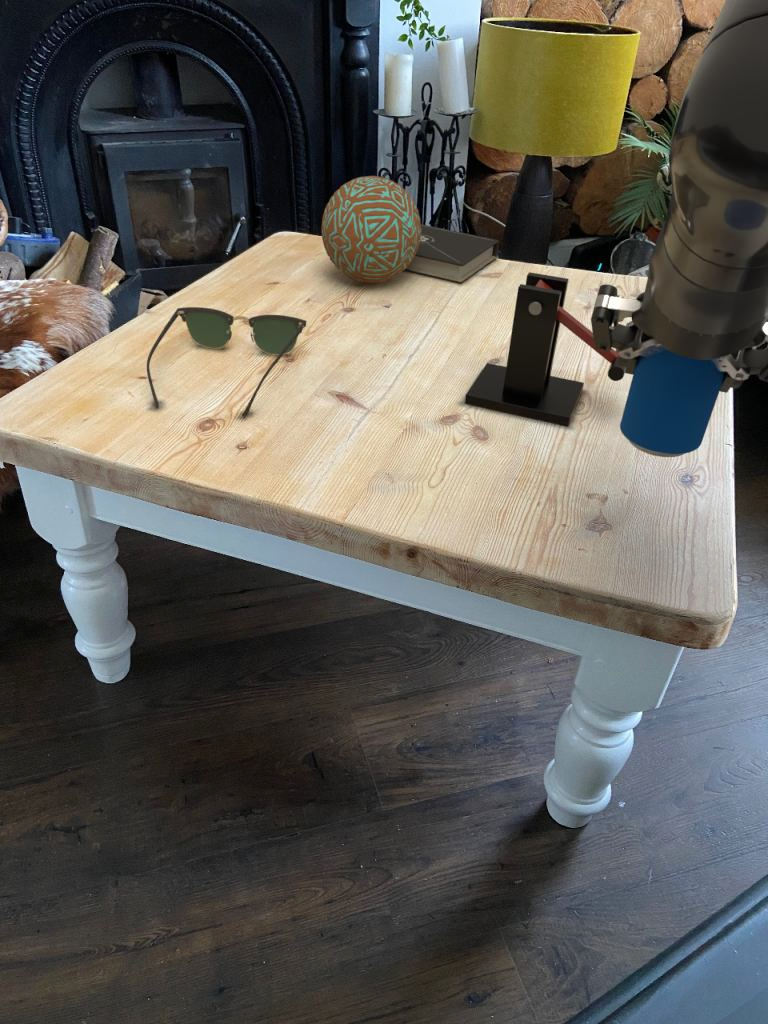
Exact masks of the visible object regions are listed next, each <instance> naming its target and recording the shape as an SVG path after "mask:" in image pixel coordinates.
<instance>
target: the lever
mask: <svg viewBox="0 0 768 1024" xmlns="http://www.w3.org/2000/svg"><path fill="white" fill-rule="evenodd" d="M535 287H541V288H547V289H552V288H550V287H549V286H548V285H547V284H546V283H544V282H543V281H542V280H541V279H540V280H539V281H538V283H537V284H536V285H535ZM552 290H553V289H552ZM557 320H558V321H559V322H560V324H561V325H563V327H565V328H566V329H568V330H569V331H570V332H571V333H572V334H574V335H575V336H576V337H578V338H579V339H580V340H581V341H582V342H584V343H585V344H586V345H587V346H588V347H590V348H591V349H593V350H594V351H595V352H596V353H597V354H598V355H600V356H601V357H602V358H603V359H604V360H606V361H607V362H608V363H610V366H609V368H608V371H607V378H609V380H611V381H614V382H619V381H621V380H622V379H623V378H624V377H625V374H626V373H625V370H626V367H620V366H619V365H618V360H619V355H618V353H619V351H618V350H617V349H615V348H612V347H611V350H610V351H600V350H598V349H596V348H595V345H594V338H593V331H591V330H590V329H589V328H588V327H587V326H585V325H584V324H583V323H582V322H580V321H579V320H578V319H576V318H575V317H574V316H573V315H572V314H570V313H569V312H568V311H567V310H566V309H564V307H563V308H562V307H560V306H559V309H558V314H557Z"/></svg>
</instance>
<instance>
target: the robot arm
mask: <svg viewBox="0 0 768 1024" xmlns="http://www.w3.org/2000/svg"><path fill="white" fill-rule="evenodd" d="M669 145H670V146H669V152H668V169H669V170H668V171H669V175H670V183H671V189H672V192H671V196H670V200H669V203H668V208H667V212H666V216H665V220H664V222H663V224H662V226H661V229H660V231H659V233H658V235H657V237H656V238H657V239H656V241H655V245H654V249H653V253H652V256H651V257H652V258H651V259H650V261H649V263H648V268H647V269H648V272H647V273H648V274H647V275H648V276H647V280H646V284H645V287H644V291H643V292H641V293H640V294H639V295H637V297H636V298H627V297H624V296H623V295H621V294H618V288H617V287H616V286H614V285H612V284H607V283H605V284H601V285H600V286H599V289H598V292H597V295H596V299H595V303H594V306H593V310H592V314H591V317H590V322H591V323H590V324H591V330H592V331H591V332H593V338H594V345H595V348H596V349H598V350H600V351H610V350H611V348H612V349H614V350H616V349H617V350H618V351H619V353H618V355H619V360H618V365H619V366H620V367H626V370H625V374H628V375H632V376H633V374H634V370H635V367H636V363H637V359H638V356H640V355H642V356H644V357H647V358H649V357H652V356H654V355H657V354H660V353H662V352H665V351H669V352H673V353H675V354H677V355H680V356H683V357H686V358H691V359H699V360H707V359H710V361H711V362H712V363H713V364H714V365H715V367H716V368H717V369H718V370H719V371H726V374H725V377H724V379H723V382H722V385H721V388H720V391H719V393H720V392H721V393H726V394H727V393H728V392H729V391H730V389H738V388H741V386H742V385H743V383H744V381H746V380H748V379H750V376H751V375H759V376H758V379H759V380H760V381H763V382H767V383H768V344H767V345H766V347H765V349H761V348H759V349H757V347H758V346H759V345H761V344H762V343H763V342H766V343H768V0H724V2H723V5H722V7H721V9H720V10H719V14H718V16H717V18H716V20H715V22H714V26H713V27H712V30H711V31H710V34H709V36H708V39H707V41H706V43H705V46H704V48H703V50H702V53H701V55H700V57H699V59H698V61H697V63H696V65H695V68H694V70H693V73H692V74H691V77H690V78H689V82H688V84H687V86H686V89H685V92H684V94H683V97H682V100H681V103H680V106H679V107H678V112H677V115H676V119H675V123H674V126H673V130H672V135H671V140H670V144H669ZM626 318H631V321H629V322H627V323H626V324H625V325H624V324H621V322H623V321H624V320H625V319H626Z"/></svg>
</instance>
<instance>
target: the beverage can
mask: <svg viewBox="0 0 768 1024" xmlns="http://www.w3.org/2000/svg"><path fill="white" fill-rule="evenodd" d="M725 374H726V371H719V370H718V369H717V368H716V367H715V365H714V364H713V363H712V362H711V361H710V359H707V360H699V359H691V358H686V357H683V356H680V355H677V354H675V353H673V352H669V351H665V352H662V353H660V354H657V355H654V356H652V357H649V358H647V357H644V356H642V355H640V356H638V359H637V363H636V367H635V370H634V374H633V375H632V378H631V382H630V385H629V389H628V392H627V397H626V401H625V405H624V409H623V413H622V417H621V420H620V424H619V430H620V432H621V433H622V435H623V436H624V437H625V439H626V440H627V441H628V442H629V443H630V444H631V446H633V447H634V448H636V449H637V450H639V451H641V452H643V453H645V454H648V455H651V456H654V457H655V456H656V457H660V458H676V457H681V456H683V455H685V454H689V453H693V452H694V451H697V450H698V449H699V448H700V446H701V445H702V443H703V440H704V438H705V434H706V431H707V428H708V426H709V423H710V419H711V417H712V415H713V412H714V408H715V406H716V403H717V400H718V397H719V394H720V388H721V385H722V382H723V379H724V377H725Z"/></svg>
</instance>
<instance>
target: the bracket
mask: <svg viewBox="0 0 768 1024" xmlns="http://www.w3.org/2000/svg"><path fill="white" fill-rule="evenodd" d="M540 279H541V280H542V281H543V282H544V283H546V284H547V285H548V286H549V287H550V288H552V289H553V290H552V289H547V288H541V287H535V285H536V284H537V283H538V281H539V280H540ZM569 280H570V279H569V278H566V277H561V276H554V275H548V274H543V273H538V272H537V273H536V272H532V271H531V272H530V271H529V272H528V273H527V275H526V279H525V284H524V283H520V284H519V285H518V287H517V293H516V301H515V307H514V313H513V320H512V328H511V334H510V341H509V348H508V353H507V354H508V355H507V361H506V366H505V365H499V364H494V363H489V362H486V364H485V365H484V366H483V368H482V370H481V371H480V373H479V374H478V376H476V379H475V380H474V382H473V383H472V385H471V386H470V388H469V389H468V390H467V392H466V394H465V398H464V399H465V400H464V404H465V405H469V406H473V407H479V408H483V409H487V410H491V411H496V412H500V413H505V414H509V415H515V416H519V417H523V418H526V419H527V418H528V419H533V420H536V421H542V422H546V423H550V424H555V425H560V426H564V427H569V425H570V423H571V420H572V418H573V416H574V413H575V410H576V408H577V405H578V403H579V400H580V398H581V396H582V392H583V389H584V386H585V385H584V384H585V383H584V382H582V381H578V380H573V379H568V378H564V377H559V376H553V375H552V369H553V365H554V358H555V354H556V350H557V345H558V338H559V334H560V333H559V332H560V329H561V323H560V322H559V321H558V320H557V314H558V309H559V306H560V307H562V308H563V309H564V306H565V301H566V296H567V291H568V286H569Z"/></svg>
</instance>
